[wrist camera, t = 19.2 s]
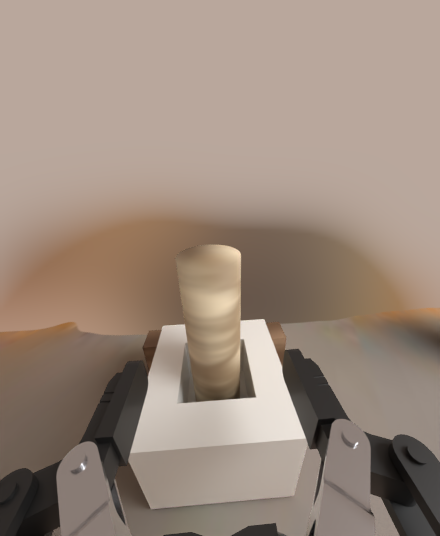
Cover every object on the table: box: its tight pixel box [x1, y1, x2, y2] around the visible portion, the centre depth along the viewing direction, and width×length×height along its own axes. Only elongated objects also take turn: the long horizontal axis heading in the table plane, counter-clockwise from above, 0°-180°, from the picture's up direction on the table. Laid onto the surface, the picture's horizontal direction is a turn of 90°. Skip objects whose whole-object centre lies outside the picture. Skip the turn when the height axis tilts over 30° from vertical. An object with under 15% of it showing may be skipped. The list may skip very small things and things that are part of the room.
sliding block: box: [128, 319, 308, 509], centre depth 21 cm, size 12×12×9 cm
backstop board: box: [143, 322, 286, 371], centre depth 28 cm, size 3×18×6 cm, turn 93°
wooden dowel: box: [175, 245, 241, 402], centre depth 17 cm, size 4×4×16 cm
